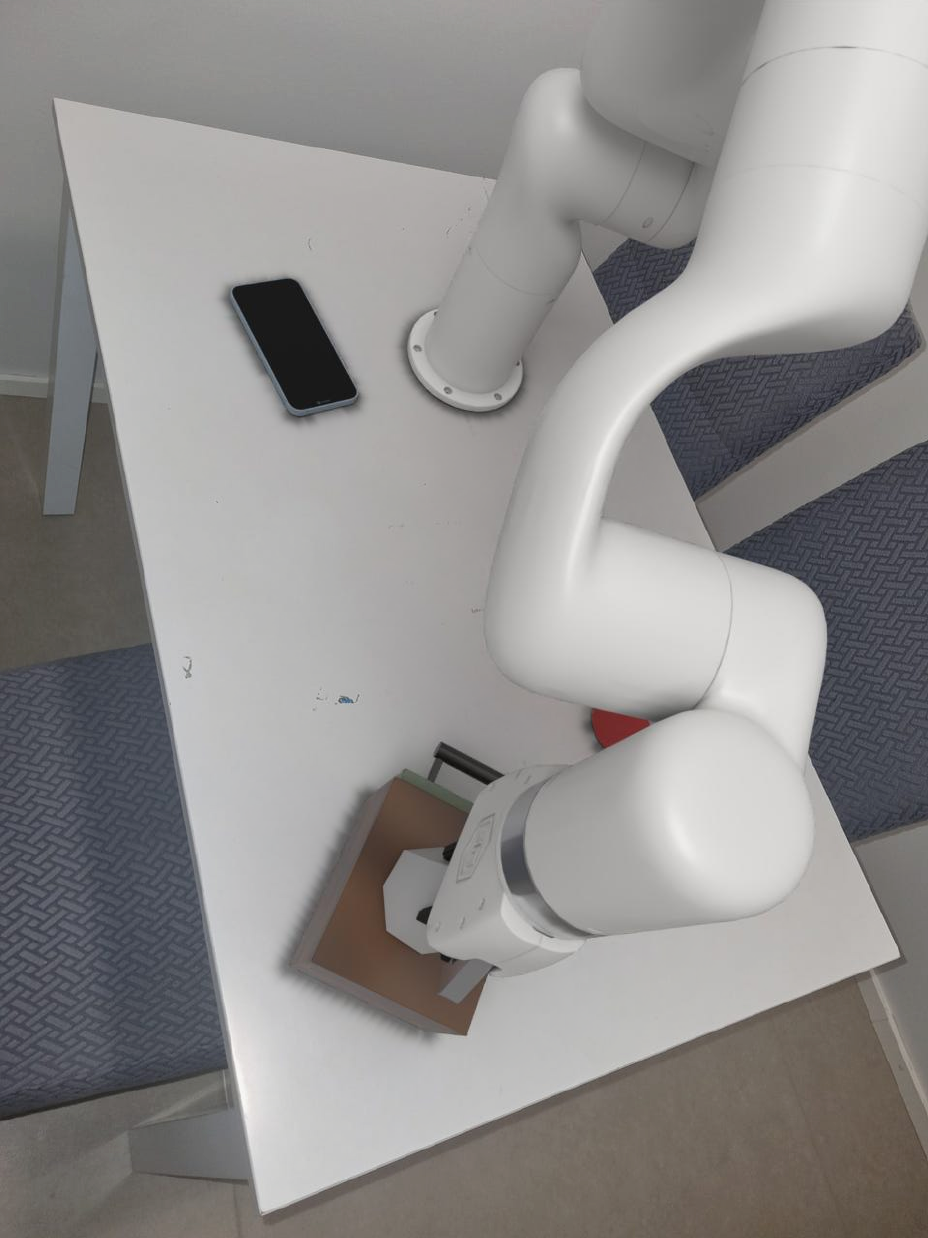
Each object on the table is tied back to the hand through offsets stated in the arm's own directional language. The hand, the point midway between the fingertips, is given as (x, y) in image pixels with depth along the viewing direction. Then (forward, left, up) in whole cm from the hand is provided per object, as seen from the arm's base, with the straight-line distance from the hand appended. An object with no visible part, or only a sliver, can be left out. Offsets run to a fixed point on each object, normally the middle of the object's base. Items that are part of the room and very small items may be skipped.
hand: (451, 893), depth 56 cm
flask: (0, 0, -5) cm, 5 cm away
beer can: (-24, +13, -13) cm, 30 cm away
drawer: (-4, 0, -12) cm, 13 cm away
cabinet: (0, 0, -13) cm, 13 cm away
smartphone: (-43, -31, -13) cm, 55 cm away
